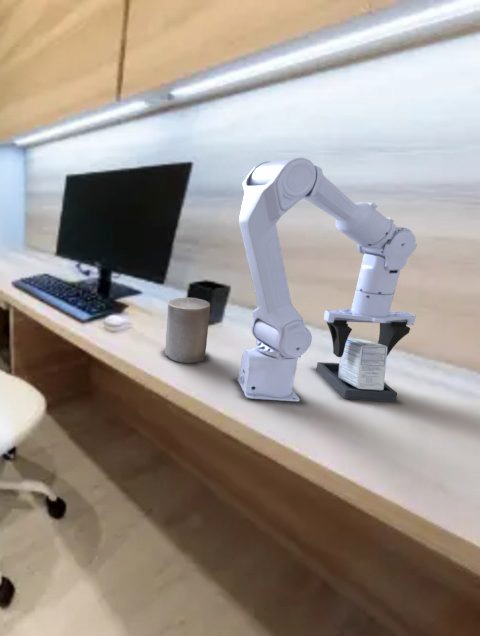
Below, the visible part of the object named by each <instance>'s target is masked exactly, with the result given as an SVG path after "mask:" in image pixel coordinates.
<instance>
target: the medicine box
mask: <svg viewBox="0 0 480 636" xmlns="http://www.w3.org/2000/svg"><path fill="white" fill-rule="evenodd" d="M387 357H388V356H387V346H385V345H382V344H378V342H375V341H372V340H368V339H363V338H361V339H360V338H347V341H346V344H345V348H344V353H343V355H342V357H339V374H338V378H339V379H341V380H343V381H345V382H347V383H349V384H351V385H352V386H354V387H356V388H358V389H367V390H381V391H382V390H383V389H384V383H385V380H386V379H385V378H386V368H387V359H388V358H387Z"/></svg>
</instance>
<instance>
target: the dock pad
mask: <svg viewBox="0 0 480 636" xmlns="http://www.w3.org/2000/svg"><path fill="white" fill-rule="evenodd" d="M339 363H340V362H339ZM339 363H338V362H323V361H322V362H321V361H320V362H319V361H318V362H317V364H316V369H315V371H317V372H318V373H319V375H320V376H321V377H322V378H324V380H325V381H326V382H327V383H328V384H329V385H330V386H331V387H332V388H333V389H334V390H335V391H336V392H337V393H338V394H339V395H340V396H341V397H342V398H343V399H345V400H359V401H373V402H374V401H376V402H390V403H392V402H393V403H396V401H397V398H398V394H399V393H398V392H397V391H396V390H395V389H393V388H392V387H391V386H390V385H388V383H386V382H384V389H383V390H382V391H381V390H367V389H358V388H356V387H354V386H352V385H351V384H349V383H347V382H345V381H343V380H341V379H339V378H338V374H339Z"/></svg>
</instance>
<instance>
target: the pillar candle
mask: <svg viewBox="0 0 480 636" xmlns="http://www.w3.org/2000/svg"><path fill="white" fill-rule="evenodd" d="M210 311H211V303H210V302H209V301H207V300H205V299H201V298H197V297H176V298H172V299H169V300H168V301H167V313H166V314H167V316H166V330H165V332H166V333H165V349H164V354H165V356H167V357H168V358H169V359H170V360H171V361H174V362H178V363H183V364H184V363H185V364H195V363H198V362H202V361H204V360H205V359H206V351H207V343H208V332H209V322H210V314H211V313H210Z"/></svg>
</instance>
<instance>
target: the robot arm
mask: <svg viewBox="0 0 480 636" xmlns="http://www.w3.org/2000/svg"><path fill="white" fill-rule="evenodd" d="M241 185H242V190H243V194H244V195H243V197H242V203H241V206H240V207H241V208H240V212H239V216H238V225H239V229H240V234H241V238H242V242H243V247H244V251H245V256H246V259H247V264H248V268H249V272H250V275H251V281H252V285H253V291H254V294H255V298H256V303H257V307H256V308H255V309H254V310H253V311H252V312H251V313H252V324H251V334H252V336H253V337H254V338H255V339H256V341H255V345H256V346H255V347H252V348H245V349H243V351H242V353H241V358H240V366H239V367H240V368H239V372H238V373H239V374H238V378H237V382H238V384H239V386H240V388H241V389H242V392H243V393H244V396H245V398H247V399H251V400H252V399H254V400H266V401H267V400H268V401H283V402H300V397H299V396H298V395H297V393H296V392H295V391H294V390H293V388H294V380H295V376H296V372H297V366H298V362H299V358H301V357H302V355H304V354H305V353H306V352H307V351H308V350H309V348H310V346H312V345H311V344H312V341H313V337H312V336H313V335H312V332H311V331H310V329H308V327H307V326H306V325H305V322H304V317H303V316H302V314H301V313H300V312H298V310H297V309H296V308H295V306H294V305H293V303H292V298H291V294H290V288H289V284H288V283H289V282H288V279H287V273H286V268H285V263H284V258H283V252H282V248H281V243H280V238H279V233H278V228H277V223H278V221H280V219H281V217H282V216H284V215H285V214H286V213H287V212H288V211H289V210H290V209H292V208H293V207H294V206H296V204H298V203H299V202H300V201H301V200H302V199H305V200H306V201H308V202H309V203H311V204H313V205H314V206H315V207H317V208H319V209H320V210H322V211H324V212H325V213H326V214H328V215H330V216H331V217H333V218H334V219H335V223H334V225H335V228H336V230H338V231H339V232H340V233H342V234H343V235H344V236H346V237H347V238H349V239H350V240H351V241H353V242H354V243H355V244H356V248H357V251H358V253H360V254H362V255H363V256H362V260H361V265H360V270H359V274H358V279H357V282H356V287H355V292H354V295H353V300H352V303H351V308H346V309H345V308H344V309H330V310H328V309H327V310H326V309H325V310H324V315H323V320H324V321H325V322H326V325H327V327H328V329H329V332H330V336H331V341H332V348H333V349H332V354H333V355H335V356H336V357H337V358H340V357H342V355H343V353H344V348H345V344H346V341H347V339H349V336H350V335H351V332H352V331H353V328H352V327H350V326H349V323H370V324H372V323H373V324H379V335H378V341H377V343H378V344H382V345H385V346H387V357H388V356H389V355H390V352H391V351H392V350H393V349H394V347H395V346H396V345H397V344H398V343H399V342H400V341H401V340H402V339H403V338H404V337H406V336H407V335H408V334H409V333H410V331H411V327H410V326H414V325H415V321H416V317H417V315H416V314H413V313H411V312H409V311H408V312H405V311H394V310H393V311H392V310H391V307H392V304H393V300H394V296H395V293H396V288H397V285H398V280H399V277H400V273H401V270H403V269H404V267H406V264H407V261H408V259H409V258H410V257H411V256H412V255H413V253H414V252H415V250H416V249H417V246H418V242H416V236H415V234H414V233H413V231H412V230H410V229H409V228H407V227H400V226H397V225H396V224H395V220H394V219H393V218H391V217H386V216H385V215H383V214H382V213H381V212H379V210H377V208H378V205H377V204H376V203H374V202H366V201H359V202H358V201H357V202H354V201H353V200H352V199H351V198H349V196H347V195H346V194H345V193H344V192H343V191H342V190H340V189H339V188H338V187H337V186H336V185H335V184H334V183H333V182H332V181H331V180H330V179H328V178H327V177H326V176H325V175H324V172H323V168H322V167H320V166H318V165H315V164H314V163H313V162H312V161H311V160H310V159H308V158H305V157H294V158H291V159H285V160H276V161H262V162H260V163H258V164H256V165H255V166H254V167H253V168H251V171H250V172H249V173H248V174H247V176H246V177H245V179H244V180H243V181H242V184H241Z"/></svg>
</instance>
